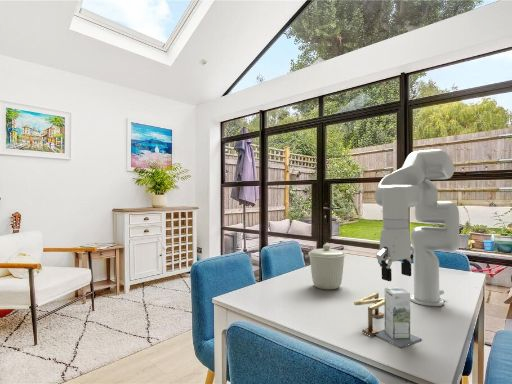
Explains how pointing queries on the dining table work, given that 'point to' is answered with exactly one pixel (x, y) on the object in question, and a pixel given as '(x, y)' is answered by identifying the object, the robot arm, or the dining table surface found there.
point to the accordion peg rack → (371, 313)
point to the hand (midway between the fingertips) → (396, 277)
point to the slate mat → (397, 342)
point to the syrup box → (397, 313)
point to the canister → (327, 267)
